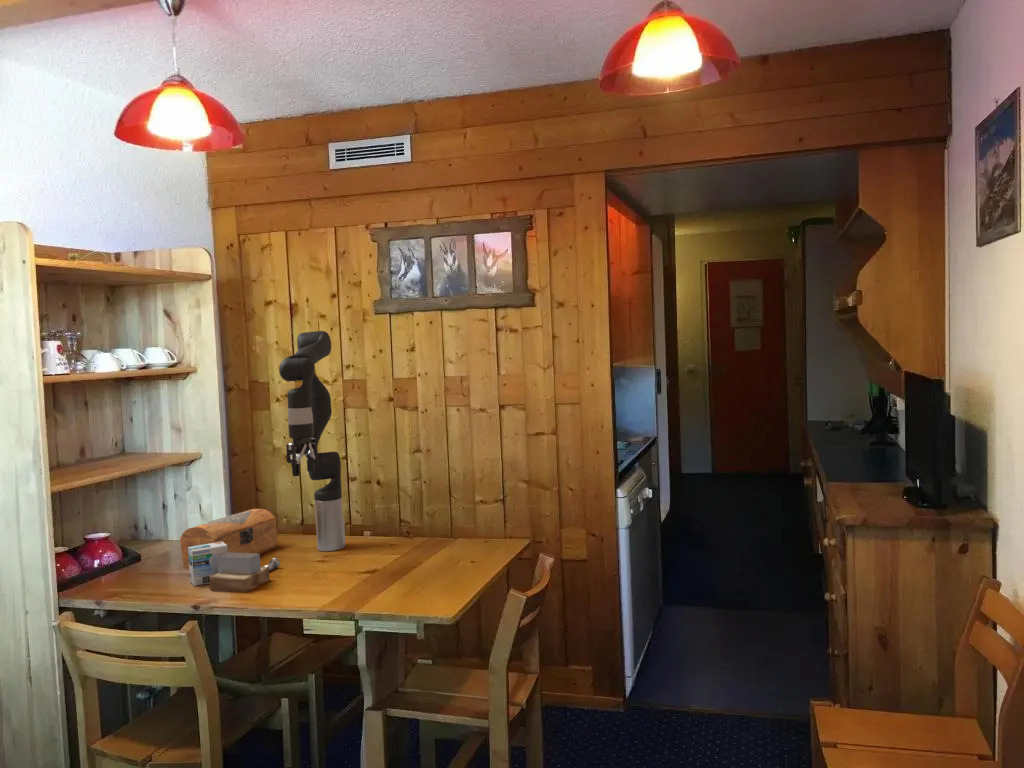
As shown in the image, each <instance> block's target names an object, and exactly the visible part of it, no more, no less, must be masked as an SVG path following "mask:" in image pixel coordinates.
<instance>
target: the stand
mask: <svg viewBox="0 0 1024 768" xmlns="http://www.w3.org/2000/svg"><path fill="white" fill-rule="evenodd" d="M260 568H261V570H260V571H258V572H256V573H254V574H252V575H238V574H219V573H217V574H215V575H213V576H211V577H209V578H210V583H209V588H210V589H209V591H214V592H231V593H232V592H234V593H247V592H249V591H251V590H253V589H255V588H257V587H259V586H261V585H262V584H263V585H264V584H265V583H266V582H268V581H271V579H270V571H269V567H264V566H260Z"/></svg>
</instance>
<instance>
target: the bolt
mask: <svg viewBox="0 0 1024 768" xmlns="http://www.w3.org/2000/svg"><path fill="white" fill-rule="evenodd" d="M279 566H281V562H280V559H279V558H277V557H273V558H271V559H270V560H269V564H267V565H264V566H263V567H269V572H271V571H273V570H275V569H277V568H279Z"/></svg>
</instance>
